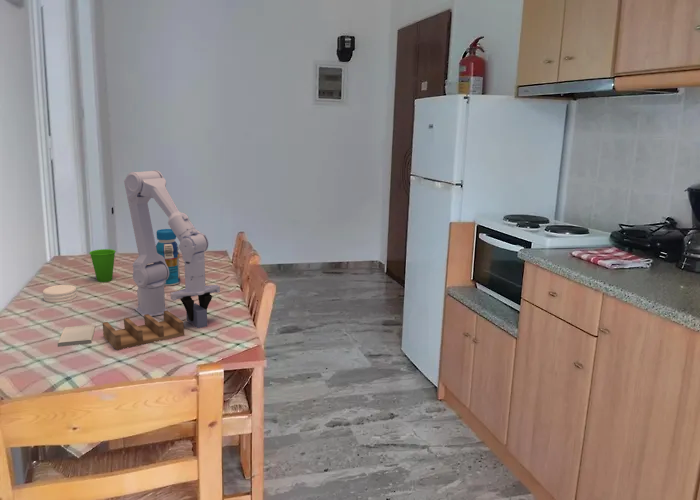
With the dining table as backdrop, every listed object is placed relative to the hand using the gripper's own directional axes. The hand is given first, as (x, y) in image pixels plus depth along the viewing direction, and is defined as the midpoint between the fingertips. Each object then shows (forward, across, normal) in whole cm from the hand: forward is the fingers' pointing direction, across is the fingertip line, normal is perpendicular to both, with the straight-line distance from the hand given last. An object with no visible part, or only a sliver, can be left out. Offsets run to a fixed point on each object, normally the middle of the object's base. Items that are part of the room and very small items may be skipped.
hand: (196, 318), depth 166 cm
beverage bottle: (+2, +9, +46) cm, 47 cm away
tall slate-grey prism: (+1, 0, 0) cm, 1 cm away
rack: (+1, -16, -1) cm, 16 cm away
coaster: (+2, -27, +49) cm, 56 cm away
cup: (+2, -9, +63) cm, 64 cm away
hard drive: (+2, -31, +9) cm, 32 cm away
